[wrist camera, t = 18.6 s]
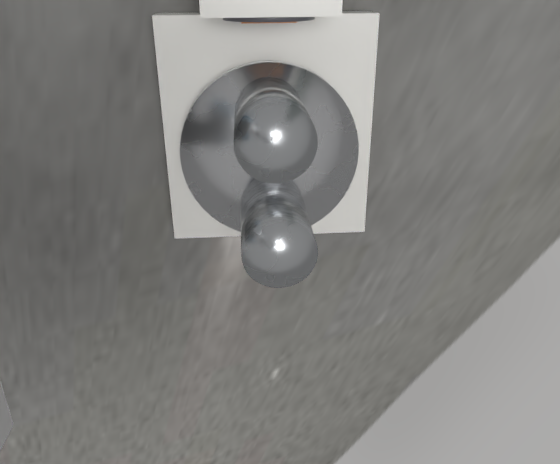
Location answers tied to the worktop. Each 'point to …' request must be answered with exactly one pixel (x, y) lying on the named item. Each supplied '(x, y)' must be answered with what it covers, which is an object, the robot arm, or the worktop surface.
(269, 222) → the grey metal knob
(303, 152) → the cylinder
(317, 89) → the pan
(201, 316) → the worktop surface
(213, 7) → the scale
